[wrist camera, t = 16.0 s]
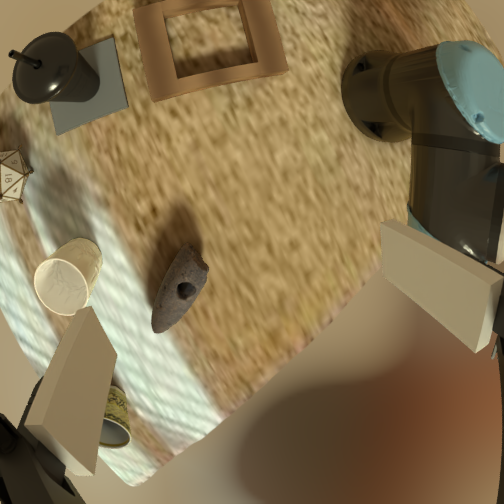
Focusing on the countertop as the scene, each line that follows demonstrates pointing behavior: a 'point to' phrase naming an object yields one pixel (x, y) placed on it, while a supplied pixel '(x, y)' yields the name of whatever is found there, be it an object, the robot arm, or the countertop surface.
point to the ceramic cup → (115, 421)
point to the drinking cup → (53, 71)
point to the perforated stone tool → (179, 288)
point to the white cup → (68, 276)
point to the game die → (12, 175)
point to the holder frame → (167, 85)
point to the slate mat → (105, 99)
